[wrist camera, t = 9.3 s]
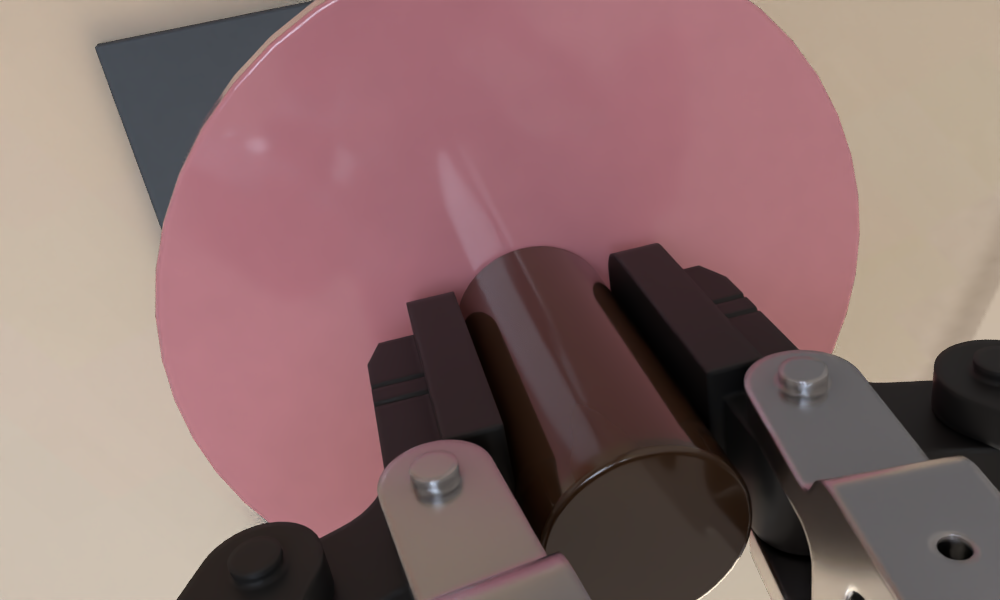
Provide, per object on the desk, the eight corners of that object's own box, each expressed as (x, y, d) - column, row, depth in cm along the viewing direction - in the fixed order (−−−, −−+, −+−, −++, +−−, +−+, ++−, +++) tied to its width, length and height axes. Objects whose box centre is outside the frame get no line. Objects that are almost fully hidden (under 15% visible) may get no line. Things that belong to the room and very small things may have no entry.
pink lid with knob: (46, 12, 12) (-158, 168, 6) (828, -141, 13) (1224, -121, 8) (275, 606, 17) (271, 975, 12) (820, 458, 18) (1052, 730, 13)
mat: (96, 44, 24) (94, 47, 24) (603, -58, 26) (607, -57, 25) (295, 587, 34) (295, 595, 33) (657, 490, 35) (660, 496, 35)
